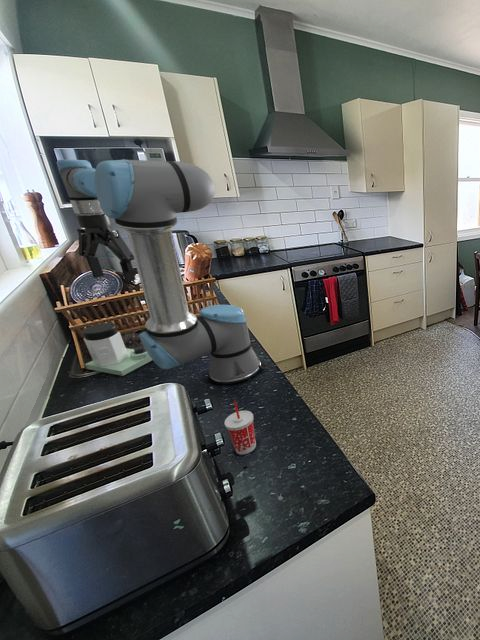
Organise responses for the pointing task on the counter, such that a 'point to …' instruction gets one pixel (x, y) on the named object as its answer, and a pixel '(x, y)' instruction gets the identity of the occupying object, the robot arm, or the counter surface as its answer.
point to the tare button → (139, 349)
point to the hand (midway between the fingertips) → (115, 278)
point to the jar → (105, 344)
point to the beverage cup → (241, 430)
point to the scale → (123, 364)
